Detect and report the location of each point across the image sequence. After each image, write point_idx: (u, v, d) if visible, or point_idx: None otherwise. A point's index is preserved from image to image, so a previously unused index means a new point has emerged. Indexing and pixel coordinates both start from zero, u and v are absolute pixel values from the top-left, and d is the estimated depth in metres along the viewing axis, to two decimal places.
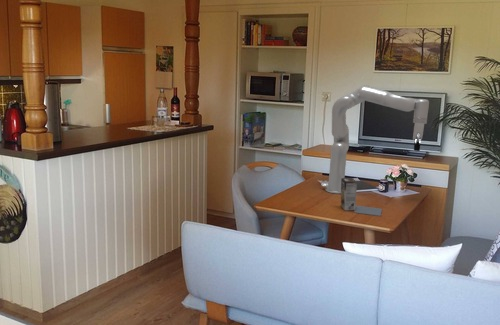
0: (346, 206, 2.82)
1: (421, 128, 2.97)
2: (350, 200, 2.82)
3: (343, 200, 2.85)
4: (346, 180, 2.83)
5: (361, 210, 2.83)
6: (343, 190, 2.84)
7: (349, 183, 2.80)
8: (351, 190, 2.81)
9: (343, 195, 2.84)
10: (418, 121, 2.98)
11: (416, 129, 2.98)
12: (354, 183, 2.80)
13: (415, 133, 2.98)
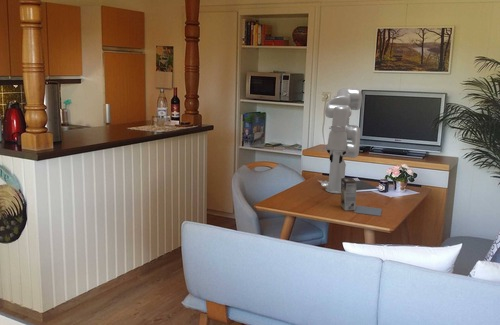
0: (346, 206, 2.82)
1: None
2: (350, 200, 2.82)
3: (343, 200, 2.85)
4: (346, 180, 2.83)
5: (361, 210, 2.83)
6: (343, 190, 2.84)
7: (349, 183, 2.80)
8: (351, 190, 2.81)
9: (343, 195, 2.84)
10: (345, 130, 2.79)
11: (346, 139, 2.79)
12: (354, 183, 2.80)
13: (346, 143, 2.80)
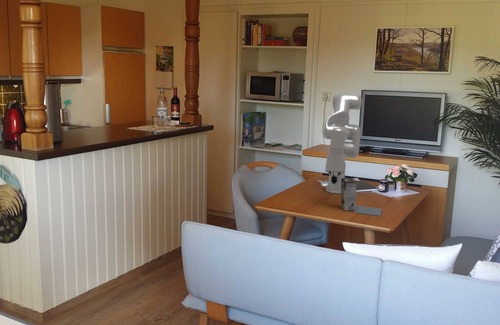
0: (346, 206, 2.82)
1: None
2: (350, 200, 2.82)
3: (343, 200, 2.85)
4: (346, 180, 2.83)
5: (361, 210, 2.83)
6: (343, 190, 2.84)
7: (349, 183, 2.80)
8: (351, 190, 2.81)
9: (343, 195, 2.84)
10: (343, 152, 2.82)
11: (344, 160, 2.82)
12: (354, 183, 2.80)
13: (344, 165, 2.82)
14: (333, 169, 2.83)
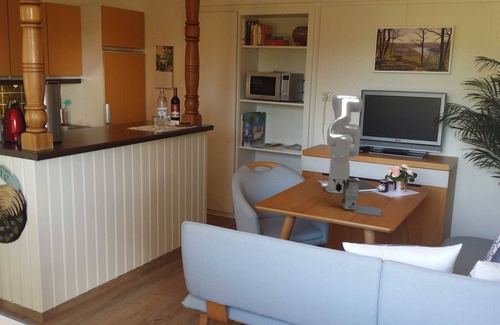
0: (347, 205, 2.83)
1: None
2: (351, 199, 2.82)
3: (344, 199, 2.85)
4: (349, 179, 2.84)
5: (361, 210, 2.83)
6: (345, 189, 2.85)
7: (352, 182, 2.81)
8: (353, 189, 2.81)
9: (345, 194, 2.85)
10: (347, 160, 2.82)
11: (349, 168, 2.82)
12: (357, 182, 2.81)
13: (348, 173, 2.82)
14: (338, 177, 2.83)
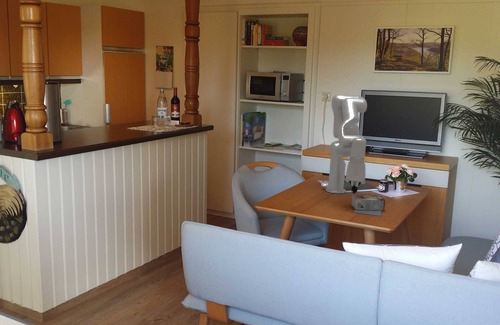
0: (360, 200, 2.83)
1: None
2: (366, 204, 2.83)
3: (364, 197, 2.85)
4: None
5: (361, 210, 2.83)
6: (373, 197, 2.86)
7: (383, 203, 2.84)
8: (376, 205, 2.84)
9: (368, 197, 2.86)
10: (363, 161, 2.79)
11: (365, 170, 2.79)
12: (383, 208, 2.84)
13: (364, 174, 2.79)
14: (353, 179, 2.81)
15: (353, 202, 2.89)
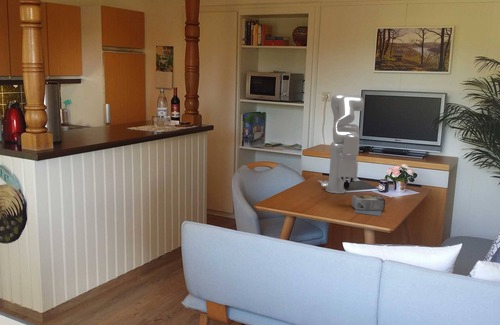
0: (360, 200, 2.83)
1: None
2: (366, 204, 2.83)
3: (364, 197, 2.85)
4: None
5: (361, 210, 2.83)
6: (373, 197, 2.86)
7: (383, 203, 2.84)
8: (376, 205, 2.84)
9: (368, 197, 2.86)
10: (355, 158, 2.82)
11: (357, 166, 2.82)
12: (383, 208, 2.84)
13: (356, 171, 2.82)
14: (346, 175, 2.83)
15: (353, 202, 2.89)
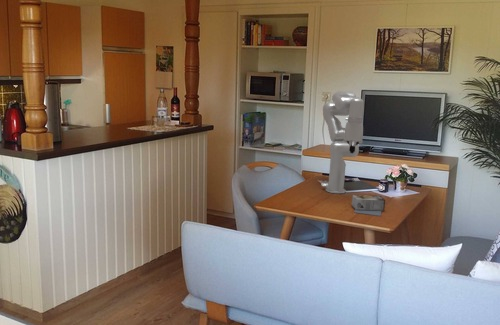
0: (360, 200, 2.83)
1: None
2: (366, 204, 2.83)
3: (364, 197, 2.85)
4: None
5: (361, 210, 2.83)
6: (373, 197, 2.86)
7: (383, 203, 2.84)
8: (376, 205, 2.84)
9: (368, 197, 2.86)
10: (361, 121, 2.89)
11: (362, 130, 2.89)
12: (383, 208, 2.84)
13: (362, 134, 2.89)
14: (351, 139, 2.90)
15: (353, 202, 2.89)
